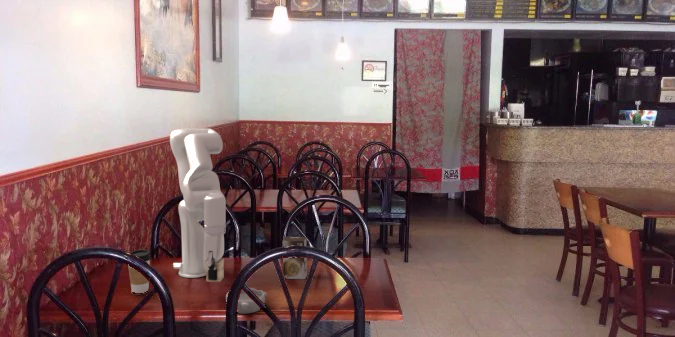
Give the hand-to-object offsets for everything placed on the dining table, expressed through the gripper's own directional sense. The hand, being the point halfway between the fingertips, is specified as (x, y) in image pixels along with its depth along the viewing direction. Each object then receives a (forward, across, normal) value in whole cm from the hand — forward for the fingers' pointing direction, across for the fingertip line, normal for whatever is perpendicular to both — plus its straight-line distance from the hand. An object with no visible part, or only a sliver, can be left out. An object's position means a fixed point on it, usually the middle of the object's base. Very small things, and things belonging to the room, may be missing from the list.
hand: (215, 276), depth 200 cm
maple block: (+1, 0, 0) cm, 1 cm away
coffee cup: (+9, -2, -29) cm, 30 cm away
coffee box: (+8, -25, +26) cm, 37 cm away
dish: (+7, +9, +14) cm, 18 cm away
